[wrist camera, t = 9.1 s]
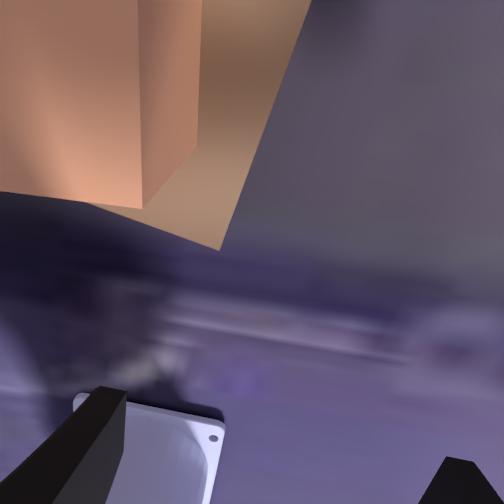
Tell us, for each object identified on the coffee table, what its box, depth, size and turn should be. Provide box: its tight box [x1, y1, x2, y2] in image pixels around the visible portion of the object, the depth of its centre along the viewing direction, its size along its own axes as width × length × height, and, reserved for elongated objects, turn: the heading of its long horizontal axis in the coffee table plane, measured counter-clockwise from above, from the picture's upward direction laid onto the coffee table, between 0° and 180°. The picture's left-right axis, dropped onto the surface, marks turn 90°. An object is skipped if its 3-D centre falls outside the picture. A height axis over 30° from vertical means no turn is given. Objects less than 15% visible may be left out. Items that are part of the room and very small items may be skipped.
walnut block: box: [86, 0, 312, 250], centre depth 14 cm, size 9×9×4 cm
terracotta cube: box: [0, 0, 202, 209], centre depth 10 cm, size 4×4×5 cm
